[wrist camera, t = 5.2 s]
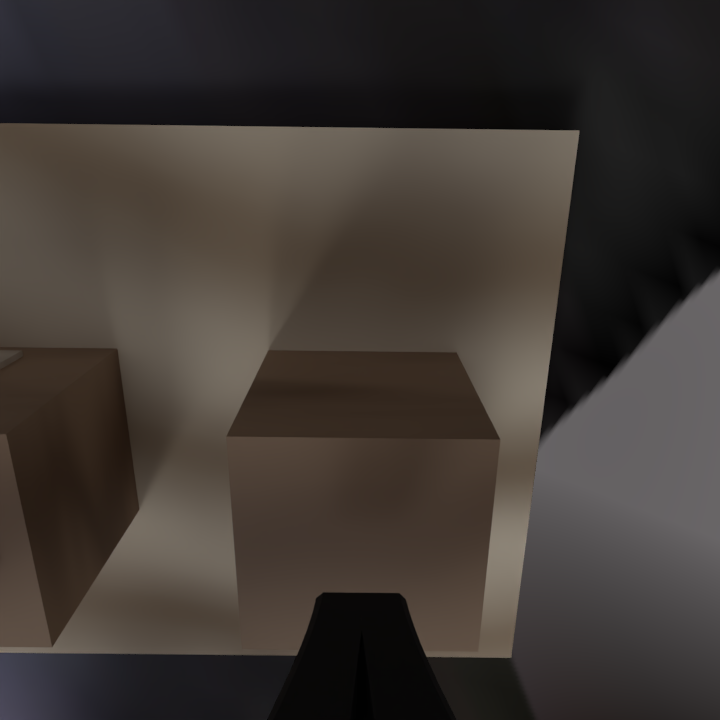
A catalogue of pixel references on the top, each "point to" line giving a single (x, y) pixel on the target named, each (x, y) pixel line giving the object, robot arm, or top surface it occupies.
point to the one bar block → (59, 484)
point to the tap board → (276, 317)
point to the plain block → (362, 492)
